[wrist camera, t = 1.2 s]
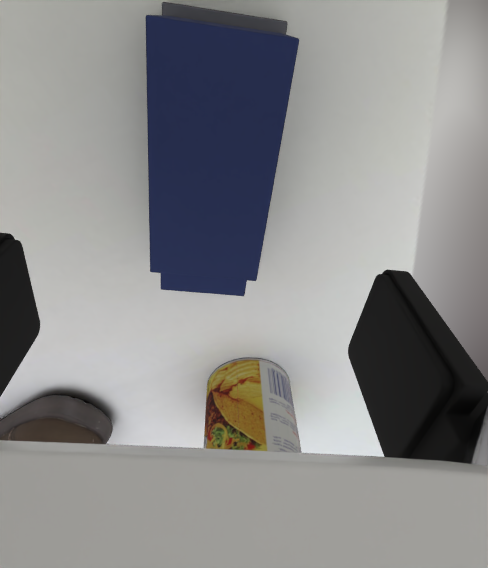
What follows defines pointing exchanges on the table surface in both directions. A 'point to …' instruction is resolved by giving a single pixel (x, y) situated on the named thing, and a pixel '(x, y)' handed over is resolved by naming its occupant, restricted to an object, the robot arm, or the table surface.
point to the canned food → (250, 408)
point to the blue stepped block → (213, 142)
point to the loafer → (57, 422)
